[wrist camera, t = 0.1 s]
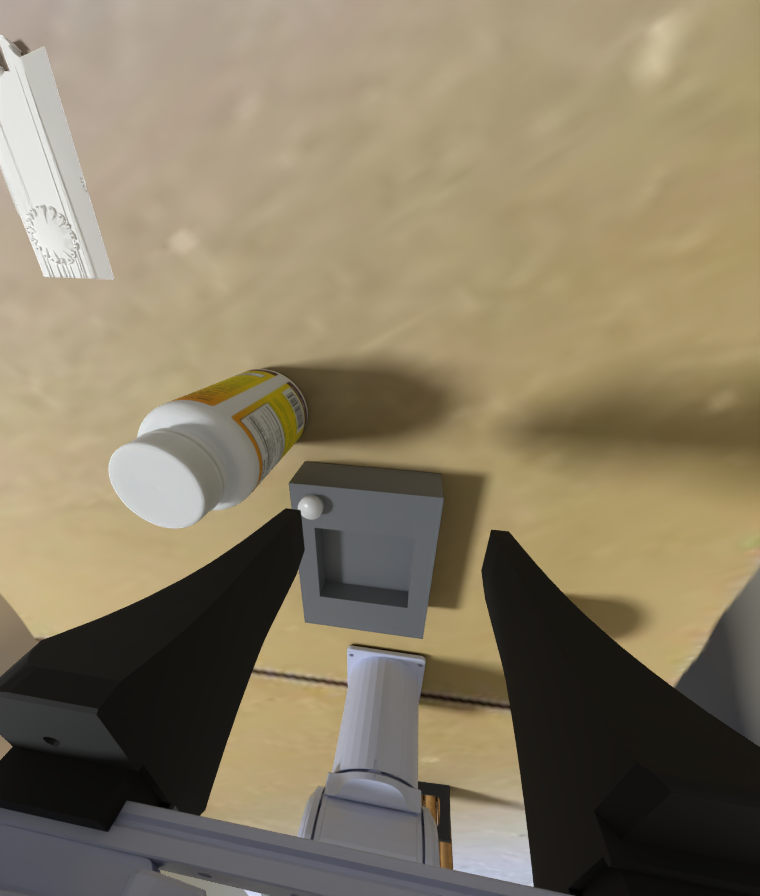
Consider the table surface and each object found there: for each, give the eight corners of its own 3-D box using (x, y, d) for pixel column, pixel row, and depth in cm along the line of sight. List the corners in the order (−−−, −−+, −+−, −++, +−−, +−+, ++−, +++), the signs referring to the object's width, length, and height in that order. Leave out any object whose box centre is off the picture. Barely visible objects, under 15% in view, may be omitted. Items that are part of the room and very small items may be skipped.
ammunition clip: (376, 780, 45) (362, 930, 34) (375, 775, 44) (360, 927, 33) (449, 790, 43) (458, 951, 33) (449, 785, 43) (459, 947, 32)
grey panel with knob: (422, 606, 27) (422, 646, 24) (315, 592, 28) (302, 629, 25) (440, 473, 21) (444, 503, 18) (304, 461, 22) (284, 488, 19)
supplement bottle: (220, 410, 21) (70, 490, 12) (257, 348, 19) (107, 388, 10) (285, 458, 22) (191, 565, 13) (327, 405, 20) (249, 488, 11)
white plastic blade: (13, -139, 12) (-22, -178, 11) (131, 281, 19) (115, 280, 18) (-98, -133, 13) (-142, -171, 12) (56, 277, 19) (37, 276, 18)
